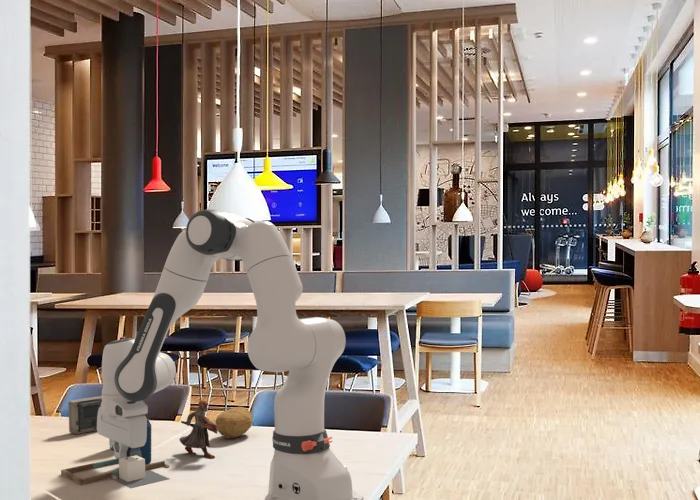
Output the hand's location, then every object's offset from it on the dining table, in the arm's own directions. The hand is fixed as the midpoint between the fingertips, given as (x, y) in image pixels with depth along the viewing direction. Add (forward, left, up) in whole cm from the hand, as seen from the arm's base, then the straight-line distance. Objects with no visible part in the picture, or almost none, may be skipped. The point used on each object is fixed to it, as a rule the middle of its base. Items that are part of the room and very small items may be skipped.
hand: (120, 458), depth 193 cm
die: (-9, +1, -3) cm, 10 cm away
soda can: (0, -4, -3) cm, 5 cm away
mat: (-12, 0, -3) cm, 12 cm away
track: (0, +1, -3) cm, 3 cm away
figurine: (-3, -21, -3) cm, 21 cm away
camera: (+46, -12, -3) cm, 47 cm away
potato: (+8, -39, -3) cm, 39 cm away
